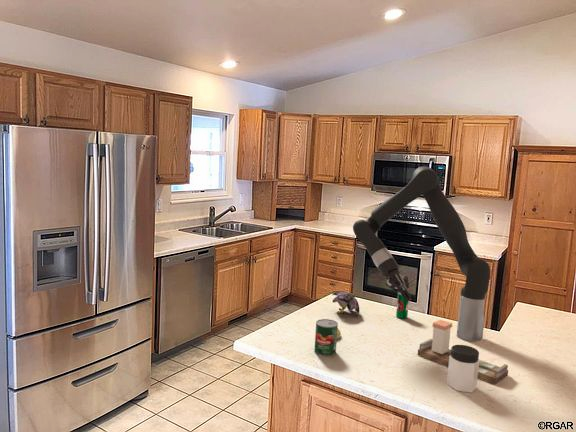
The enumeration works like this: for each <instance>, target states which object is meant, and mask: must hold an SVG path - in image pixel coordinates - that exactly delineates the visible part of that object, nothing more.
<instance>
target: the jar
mask: <svg viewBox="0 0 576 432" xmlns="http://www.w3.org/2000/svg"><path fill="white" fill-rule="evenodd" d="M450 350H451V355H450V356H449V366H447V367H448V368H447V376H446V384H447V385H448V386H449V387H451V388H452V389H453V390H455V391H457V392H463V393H470V394H471V393H473V392H474V391H475V390H476V389H477V386H478V379H479V378H478V369H479V360H480V359H479V358H480V356H479V355H480V352H479V350H478V349H477V348H475V347H473V346H470V345H465V344H455V345H452V346H451V348H450Z"/></svg>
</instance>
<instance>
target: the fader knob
mask: <svg viewBox="0 0 576 432" xmlns="http://www.w3.org/2000/svg"><path fill="white" fill-rule="evenodd" d="M432 327H433V330H432V331H433V332H432V339H433V340H432V351H434V352H437V353H439V354H444V353H445V352H447V351H449V348H450V341H451V339H450V338H451V328H452V327H453V323H452V322H449V321H446V320H443V319H438V320H436V321H434V322H432Z"/></svg>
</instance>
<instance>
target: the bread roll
mask: <svg viewBox="0 0 576 432" xmlns="http://www.w3.org/2000/svg"><path fill="white" fill-rule="evenodd" d="M341 336H342V334H341V330H340V329H339V328H338V329H337V340H339V339H340V338H341Z"/></svg>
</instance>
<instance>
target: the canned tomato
mask: <svg viewBox="0 0 576 432" xmlns="http://www.w3.org/2000/svg"><path fill="white" fill-rule="evenodd" d="M338 325H339V323H338V322H337V321H336V320H333V319H328V318H324V319H323V318H322V319H318V320H316V322H315V336H314V337H315V338H314V350H313V351H314V353H315V355H317V356H320V357H325V358H326V357H327V358H329V357H333V356H335V355H336V354H337V344H338V343H337V341H338V339H337V329H339V327H338Z"/></svg>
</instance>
